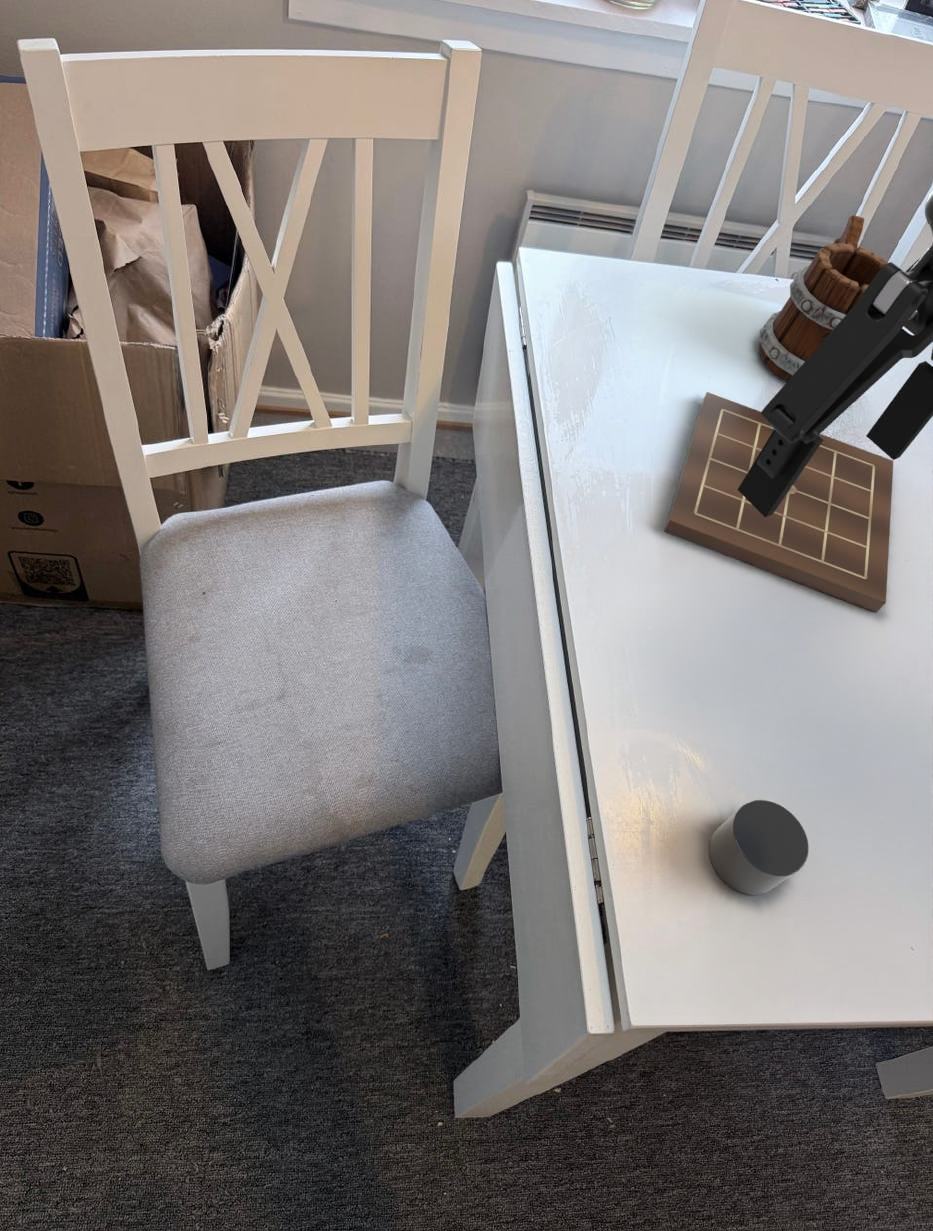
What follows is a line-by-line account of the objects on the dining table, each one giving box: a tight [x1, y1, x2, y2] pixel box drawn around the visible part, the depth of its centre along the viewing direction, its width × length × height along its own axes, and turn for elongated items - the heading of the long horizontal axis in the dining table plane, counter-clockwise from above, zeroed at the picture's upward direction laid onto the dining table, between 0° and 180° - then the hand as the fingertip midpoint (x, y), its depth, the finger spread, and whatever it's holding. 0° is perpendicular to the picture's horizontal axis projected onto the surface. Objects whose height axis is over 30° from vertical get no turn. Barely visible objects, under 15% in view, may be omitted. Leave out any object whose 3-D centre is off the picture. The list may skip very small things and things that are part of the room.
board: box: [664, 391, 894, 613], centre depth 80 cm, size 20×20×2 cm
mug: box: [758, 214, 888, 383], centre depth 91 cm, size 12×14×15 cm
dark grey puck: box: [708, 799, 809, 896], centre depth 57 cm, size 5×5×4 cm
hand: (821, 473), depth 58 cm, fingers open, 13 cm apart
